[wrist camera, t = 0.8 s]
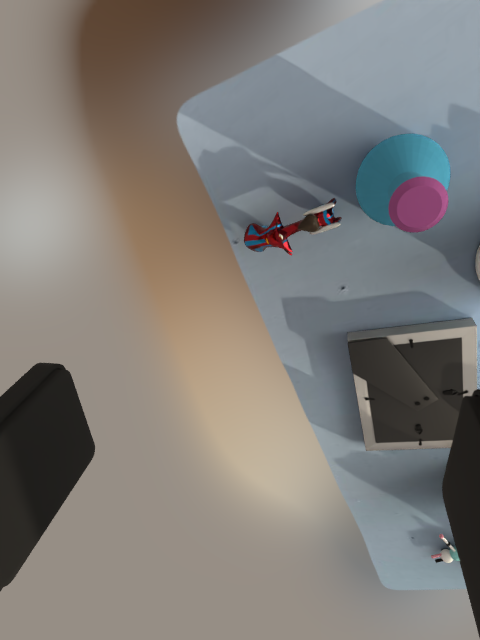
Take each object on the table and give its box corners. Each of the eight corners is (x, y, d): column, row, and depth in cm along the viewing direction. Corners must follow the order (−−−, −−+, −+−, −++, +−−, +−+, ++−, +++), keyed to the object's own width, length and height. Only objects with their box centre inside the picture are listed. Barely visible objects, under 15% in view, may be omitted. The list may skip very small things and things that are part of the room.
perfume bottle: (342, 202, 49) (344, 243, 36) (372, 119, 44) (387, 132, 31) (417, 223, 48) (446, 272, 36) (455, 142, 44) (506, 165, 31)
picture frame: (347, 332, 57) (365, 441, 66) (347, 343, 55) (366, 454, 64) (472, 317, 53) (473, 436, 62) (478, 328, 50) (478, 450, 59)
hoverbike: (240, 219, 52) (231, 232, 48) (332, 185, 48) (332, 196, 43) (255, 255, 54) (247, 271, 50) (344, 225, 50) (345, 240, 45)
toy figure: (418, 548, 73) (466, 536, 69) (415, 535, 75) (462, 522, 71) (452, 584, 76) (500, 574, 72) (448, 570, 78) (495, 560, 74)
